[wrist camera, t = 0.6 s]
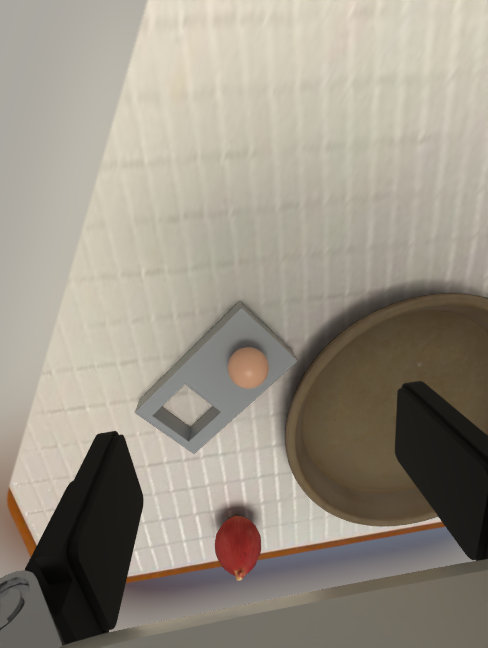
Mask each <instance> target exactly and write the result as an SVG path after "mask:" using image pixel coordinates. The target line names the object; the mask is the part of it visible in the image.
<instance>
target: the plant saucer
mask: <svg viewBox="0 0 488 648" xmlns="http://www.w3.org/2000/svg"><path fill="white" fill-rule="evenodd" d="M415 381H423V382H424V383H425V384H427V385H428V386H429V387H430V388H431V389H433V390H434V391H435V392H436V393H437V394H439V395H440V396H441V397H442V398H443V399H445V400H446V401H447V402H448V403H449V404H451V405H452V406H453V407H454V408H455V409H457V410H458V411H459V412H460V413H461V414H463V415H464V416H465V417H466V418H467V419H468V420H470V421H471V422H472V423H473V424H474V425H476V426H477V427H478V428H479V429H480V430H482V431H483V432H484V433H485V434H486V435H488V298H485V297H480V296H476V295H468V294H456V293H446V294H433V295H425V296H419V297H415V298H411V299H407V300H403V301H400V302H397V303H394V304H392V305H389V306H387V307H384V308H382V309H380V310H377V311H375V312H373V313H371V314H369V315H367V316H366V317H364V318H362V319H361V320H359V321H357V322H356V323H354V324H353V325H351V326H350V327H348V328H347V329H346V330H344V331H343V332H342V333H340V334H339V335H338V336H337V337H336V338H335V339H334V340H333V341H331V342H330V343H329V344H328V345H327V346H326V347H325V348H324V349H323V351H322V352H321V353H320V354H319V355H318V356H317V357H316V359H315V360H314V361H313V363H312V364H311V365H310V367H309V368H308V370H307V371H306V373H305V374H304V376H303V378H302V380H301V382H300V383H299V386H298V388H297V390H296V392H295V394H294V397H293V399H292V402H291V405H290V409H289V412H288V417H287V421H286V432H285V444H286V452H287V458H288V462H289V465H290V468H291V470H292V473H293V475H294V477H295V479H296V481H297V482H298V484H299V485H300V487H301V488H302V489H303V491H304V492H305V493H306V494H307V495H308V497H309V498H310V499H311V500H312V501H314V502H315V503H316V504H317V505H318V506H320V507H321V508H322V509H324V510H325V511H327V512H329V513H330V514H332V515H334V516H336V517H339V518H341V519H344V520H346V521H349V522H353V523H357V524H362V525H369V526H399V525H407V524H412V523H417V522H422V521H425V520H429V519H432V518H435V517H438V515H437V514H436V513H435V511H434V510H433V508H432V507H431V506H430V504H429V503H428V502H427V500H426V499H425V497H424V496H423V495H422V493H421V492H420V491H419V489H418V488H417V486H416V485H415V484H414V482H413V481H412V480H411V478H410V477H409V476H408V474H407V473H406V471H405V470H404V469H403V467H402V466H401V465H400V463H399V462H398V460H397V458H396V455H395V432H396V411H397V392H398V389H400V388H402V385H403V384H404V383H409V382H415Z"/></svg>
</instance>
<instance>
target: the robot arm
mask: <svg viewBox="0 0 488 648" xmlns="http://www.w3.org/2000/svg"><path fill="white" fill-rule="evenodd" d="M395 455H396V458H397V460H398V462H399V463H400V465H401V466H402V467H403V469H404V470H405V471H406V473H407V474H408V476H409V477H410V478H411V480H412V481H413V482H414V484H415V485H416V486H417V488H418V489H419V491H420V492H421V493H422V495H423V496H424V497H425V499H426V500H427V502H428V503H429V504H430V506H431V507H432V508H433V510H434V511H435V513H436V514H437V515H438V517H439V518H440V519H441V521H442V522H443V524H444V525H445V526H446V527H447V529H448V530H449V532H450V533H451V534H452V536H453V537H454V539H455V540H456V541H457V543H458V544H459V546H460V547H461V548H462V550H463V551H464V552H465V554H466V555H467V556H468V557H469V558H470V559H472V560H476V561H474V562H467V563H461V564H455V565H450V566H445V567H439V568H434V569H428V570H423V571H418V572H412V573H407V574H401V575H396V576H391V577H385V578H380V579H375V580H369V581H364V582H359V583H353V584H348V585H343V586H338V587H332V588H327V589H322V590H317V591H312V592H307V593H301V594H296V595H291V596H286V597H281V598H275V599H270V600H265V601H260V602H255V603H249V604H245V605H239V606H234V607H229V608H224V609H219V610H215V611H210V612H204V613H199V614H194V615H189V616H184V617H179V618H174V619H169V620H164V621H159V622H155V623H150V624H146V625H141V626H137V627H132V628H127V629H123V630H118V631H114V632H109V630H111V629H113V628H114V627H115V625H116V622H117V619H118V614H119V610H120V606H121V601H122V597H123V592H124V588H125V584H126V579H127V575H128V570H129V566H130V561H131V557H132V553H133V548H134V544H135V539H136V535H137V531H138V526H139V522H140V517H141V513H142V509H143V494H142V491H141V487H140V484H139V481H138V478H137V475H136V472H135V469H134V466H133V462H132V459H131V456H130V453H129V450H128V447H127V444H126V441H125V438H124V436H123V435H119V434H118V433H117V431H112V432H106V433H100V434H97V435H96V437H95V439H94V441H93V443H92V445H91V447H90V449H89V451H88V453H87V455H86V457H85V459H84V461H83V463H82V465H81V467H80V469H79V471H78V473H77V475H76V477H75V479H74V481H72V482H71V483H70V484H69V485H68V487H67V488H66V490H65V492H64V494H63V496H62V498H61V500H60V502H59V504H58V506H57V508H56V510H55V512H54V514H53V515H52V517H51V519H50V521H49V523H48V525H47V527H46V529H45V531H44V533H43V535H42V537H41V539H40V541H39V543H38V545H37V547H36V549H35V551H34V553H33V555H32V557H31V558H30V560H29V563H28V564H27V566H26V568H25V570H24V571H16V572H13V573H11V574H8V575H5V576H4V577H2V578H0V648H488V435H486V434H485V433H484V432H483V431H482V430H480V429H479V428H478V427H477V426H476V425H474V424H473V423H472V422H471V421H470V420H468V419H467V418H466V417H465V416H464V415H463V414H461V413H460V412H459V411H458V410H457V409H455V408H454V407H453V406H452V405H451V404H449V403H448V402H447V401H446V400H445V399H443V398H442V397H441V396H440V395H439V394H437V393H436V392H435V391H434V390H433V389H431V388H430V387H429V386H428V385H427V384H425V383H424V382H423V381H415V382H409V383H404V384H403V385H402V388H400V389H398V392H397V411H396V432H395ZM108 632H109V633H108Z"/></svg>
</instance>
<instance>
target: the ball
mask: <svg viewBox="0 0 488 648" xmlns="http://www.w3.org/2000/svg"><path fill="white" fill-rule="evenodd" d="M268 372H269V364H268V360H267V358H266V356H265V355H264V354H263V353H262V352H261V351H260V350H258V349H256V348H252V347H245V348H241V349H239V350H237V351H236V352H234V353H233V355H232V356H231V357H230V359H229V362H228V374H229V376H230V378H231V380H232V381H233V382H234V383H235V384H236V385H237V386H239V387H241V388H245V389H252V388H255V387H258V386H259V385H261V384H262V383H263V382H264V381H265V379H266V378H267V375H268Z"/></svg>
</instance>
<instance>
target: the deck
mask: <svg viewBox="0 0 488 648" xmlns="http://www.w3.org/2000/svg"><path fill="white" fill-rule="evenodd" d="M245 347H252V348H256V349H258V350H260V351H261V352H262V353H263V354H264V355H265V356H266V358H267V360H268V364H269V372H268V375H267V378H266V379H265V381H264V382H263V383H262V384H261V385H259V386H258V387H255V388H252V389H245V388H241V387H239V386H237V385H236V384H235V383H234V382H233V381H232V380H231V378H230V376H229V374H228V362H229V359H230V357H231V356H232V355H233V353H234V352H236V351H237V350H239V349H241V348H245ZM297 361H298V360H297V359H296V357H295V355H294V353H293V351H292V350H291V349H290V348H289V347H288V346H287V345H285V344H284V343H283V342H282V341H281V340H280V339H279V338H278V337H277V336H276V335H275V334H274V333H273V332H272V331H271V330H270V329H269V328H268V327H266V326H265V325H264V324H263V323H262V322H261V321H260V320H259V319H258V318H257V317H256V316H255V315H254V314H253V313H252V312H251V311H250V310H249V309H247V308H246V307H245V306H244V305H243V304H242V303H241V302H240V301H239V302H238V303H237V304H236V305H235V306H234V307H233V308H232V309H231V310H230V311H229V312H228V313H227V314H226V315H225V316H224V317H223V318H222V319H221V320H220V321H219V322H218V323H217V324H216V325H215V326H214V327H213V328H212V329H211V330H210V331H209V332H208V333H207V334H206V335H205V336H203V337H202V338H201V339H200V340H199V341H198V342H197V343H196V344H195V345H194V346H193V347H192V348H191V349H190V350H189V351H188V352H187V353H186V354H185V355H184V356H183V357H182V358H181V359H180V360H179V361H178V362H177V363H176V364H175V365H174V366H173V367H172V368H171V369H170V370H169V371H168V372H167V373H166V374H165V375H164V376H163V377H162V378H161V379H160V380H159V381H158V382H157V383H156V384H155V385H154V386H153V387H152V388H151V389H150V390H149V391H148V392H147V393H146V394H145V395H144V396H143V397H142V398H141V399H140V400H139V403H138V405H137V408H136V411H135V413H136V414H137V415H139V416H140V417H142V418H143V419H144V420H146V421H147V422H149V423H150V424H152V425H153V426H155V427H156V428H157V429H159V430H160V431H162V432H163V433H165V434H166V435H167V436H169V437H170V438H172V439H173V440H175V441H176V442H177V443H179V444H180V445H182V446H183V447H185V448H186V449H187V450H189V451H190V452H192V453H193V454H195V453H196V452H197V451H198V450H199V449H200V448H201V447H203V446H204V445H205V444H206V443H207V442H208V441H209V440H210V439H211V438H213V437H214V436H215V435H216V434H217V433H218V432H219V431H220V430H221V429H223V428H224V427H225V426H226V425H227V424H228V423H229V422H230V421H232V420H233V419H234V418H235V417H236V416H237V415H238V414H239V413H240V412H242V411H243V410H244V409H245V408H246V407H247V406H248V405H249V404H250V403H252V402H253V401H254V400H255V399H256V398H257V397H258V396H259V395H261V394H262V393H263V392H264V391H265V390H266V389H267V388H268V387H269V386H271V385H272V384H273V383H274V382H275V381H276V380H277V379H278V378H279V377H281V376H282V375H283V374H284V373H285V372H286V371H287V370H288V369H290V368H291V367H292V366H293V365H294V364H295V363H296V362H297ZM185 384H186V385H187V386H188V387H189V388H191V389H192V390H193V391H195V392H196V393H197V394H198V395H200V396H201V397H202V398H204V399H205V400H206V401H207V402H209V403H210V404H211V405H213V407H212V408H211V409H210V410H209V411H207V412H206V413H205V414H204V415H203V416H202V417H201V418H200V419H199V420H198V421H197V422H196V423H194V424H193V425H192V426H191V427H189V426H188V425H186V424H185V423H184V422H182V421H181V420H179V419H178V418H177V417H175V416H174V415H173V414H171V413H170V412H168V411H167V410H166V409H164V408H163V407H162V406H163V405H164V404H165V403H166V402H167V401H168V400H169V399H170V398H171V397H172V396H173V395H174V394H175V393H176V392H177V391H178V390H180V389H181V388H182V387H183V386H184V385H185Z"/></svg>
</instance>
